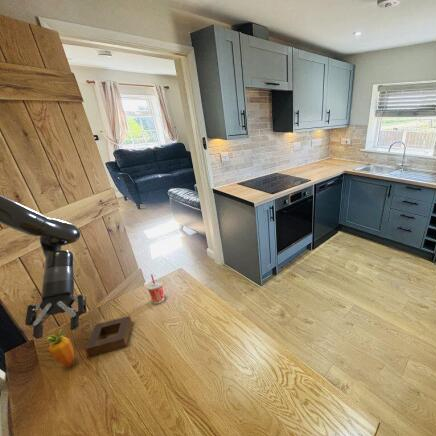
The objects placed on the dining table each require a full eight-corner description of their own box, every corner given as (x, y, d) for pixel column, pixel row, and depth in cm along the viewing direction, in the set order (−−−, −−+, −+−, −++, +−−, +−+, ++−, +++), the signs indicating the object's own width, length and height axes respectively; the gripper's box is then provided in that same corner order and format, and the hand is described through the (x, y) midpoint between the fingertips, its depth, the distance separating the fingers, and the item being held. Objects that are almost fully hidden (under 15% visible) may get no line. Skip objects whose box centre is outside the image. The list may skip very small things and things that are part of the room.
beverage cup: (151, 306, 102) (143, 281, 97) (150, 297, 107) (143, 272, 102) (166, 302, 105) (159, 276, 99) (165, 293, 110) (159, 268, 104)
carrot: (78, 355, 82) (62, 324, 76) (82, 364, 79) (65, 332, 73) (59, 366, 78) (40, 334, 72) (62, 376, 75) (43, 343, 69)
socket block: (89, 357, 81) (85, 349, 80) (99, 331, 91) (95, 324, 89) (126, 346, 85) (123, 338, 84) (132, 323, 94) (129, 315, 93)
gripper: (22, 286, 73) (17, 342, 68) (79, 275, 78) (78, 327, 73) (38, 288, 80) (35, 340, 75) (90, 278, 85) (90, 326, 80)
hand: (56, 333), depth 74 cm, fingers open, 8 cm apart
